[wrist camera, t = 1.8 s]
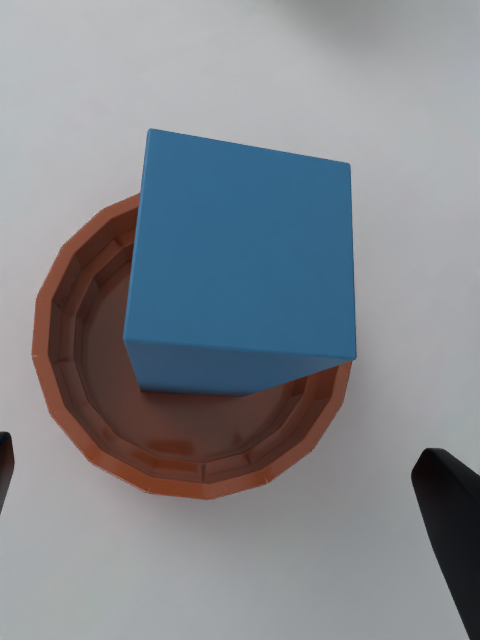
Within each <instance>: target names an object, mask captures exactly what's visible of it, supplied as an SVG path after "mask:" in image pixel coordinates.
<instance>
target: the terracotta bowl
mask: <svg viewBox="0 0 480 640" xmlns="http://www.w3.org/2000/svg"><path fill="white" fill-rule="evenodd" d="M139 199H140V193H139V194H137V195H134V196H132V197H130V198H127V199H125V200H122V201H120V202H118V203H115V204H113V205H111V206H108V207H106V208H104V209H103V210H101V211H99V212H98V213H97V214H96V215H95V216H94V217H93V218H92V219H91V220H90V221H89V222H88V223H86V224H85V225H84V226H83V227H82V228H81V229H80V230H79V231H78V232H77V233H76V234H75V235H73V236H72V237H71V238H70V239H69V240H68V241H67V242H66V243H65V244H64V245H63V246H62V247H61V249H60V251H59V253H58V255H57V257H56V259H55V261H54V263H53V265H52V267H51V269H50V271H49V273H48V275H47V277H46V279H45V281H44V283H43V285H42V287H41V289H40V291H39V293H38V295H37V298H36V306H35V318H34V330H33V342H32V354H31V355H32V356H33V357H32V360H33V363H34V366H35V369H36V372H37V376H38V379H39V382H40V385H41V388H42V391H43V394H44V398H45V401H46V404H47V407H48V410H49V413H50V414H51V417H52V418H53V419H54V420H55V422H56V423H57V424H58V425H59V426H60V428H61V429H62V430H63V431H64V432H65V434H66V435H67V436H68V437H69V438H70V440H71V441H72V442H73V443H74V444H75V446H76V447H77V448H78V449H79V450H80V452H81V453H82V454H83V455H84V456H85V457H86V459H87V460H88V461H89V462H90V463H92V465H94V466H96V467H98V468H100V469H102V470H104V471H105V472H107V473H109V474H111V475H113V476H115V477H117V478H119V479H121V480H122V481H124V482H126V483H128V484H130V485H132V486H134V487H136V488H137V489H139V490H141V491H143V492H145V493H147V492H148V493H149V494H156V495H165V496H175V497H184V498H193V499H203V500H209V499H210V500H212V499H215V498H219V497H223V496H226V495H230V494H233V493H237V492H241V491H244V490H248V489H252V488H255V487H259V486H263V485H266V483H269V482H271V481H272V480H274V479H275V478H276V477H278V476H279V475H280V474H282V473H283V472H284V471H286V470H287V469H288V468H290V467H291V466H292V465H294V464H295V463H296V462H298V461H299V460H300V459H302V458H303V457H305V456H306V455H307V454H309V453H310V452H311V451H312V449H314V448H315V446H316V445H317V443H318V442H319V440H320V439H321V437H322V435H323V434H324V432H325V431H326V429H327V428H328V426H329V425H330V423H331V421H332V420H333V418H334V417H335V415H336V414H337V412H338V411H339V409H340V407H341V406H342V403H343V400H344V395H345V391H346V387H347V382H348V378H349V373H350V369H351V365H352V361H350V362H347V363H344V364H341V365H338V366H335V367H332V368H329V369H326V370H323V371H319V372H316V373H313V374H310V375H307V376H304V377H301V378H298V379H295V380H292V381H289V382H286V383H283V384H280V385H277V386H274V387H271V388H268V389H265V390H262V391H259V392H256V393H253V394H250V395H247V396H244V397H230V396H213V395H196V394H179V393H162V392H146V391H140V388H139V385H138V382H137V379H136V376H135V373H134V370H133V367H132V364H131V361H130V358H129V355H128V352H127V349H126V346H125V343H124V340H123V332H124V324H125V316H126V307H127V299H128V291H129V282H130V274H131V266H132V257H133V249H134V241H135V232H136V224H137V216H138V208H139Z"/></svg>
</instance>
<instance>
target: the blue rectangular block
mask: <svg viewBox="0 0 480 640" xmlns="http://www.w3.org/2000/svg"><path fill="white" fill-rule="evenodd" d="M123 340H124V343H125V346H126V349H127V352H128V355H129V358H130V361H131V364H132V367H133V370H134V373H135V376H136V379H137V382H138V385H139V388H140V391H146V392H162V393H179V394H196V395H213V396H230V397H244V396H247V395H250V394H253V393H256V392H259V391H262V390H265V389H268V388H271V387H274V386H277V385H280V384H283V383H286V382H289V381H292V380H295V379H298V378H301V377H304V376H307V375H310V374H313V373H316V372H319V371H323V370H326V369H329V368H332V367H335V366H338V365H341V364H344V363H347V362H350V361H353V360H355V359H356V357H357V355H356V324H355V293H354V262H353V231H352V200H351V169H350V164H349V163H344V162H338V161H333V160H327V159H321V158H316V157H310V156H304V155H299V154H293V153H287V152H282V151H276V150H270V149H265V148H259V147H253V146H248V145H242V144H236V143H231V142H225V141H219V140H214V139H208V138H202V137H197V136H191V135H185V134H180V133H174V132H168V131H163V130H157V129H149V130H148V133H147V141H146V149H145V158H144V166H143V174H142V183H141V191H140V199H139V208H138V216H137V224H136V232H135V241H134V249H133V257H132V266H131V274H130V282H129V291H128V299H127V307H126V316H125V324H124V332H123Z"/></svg>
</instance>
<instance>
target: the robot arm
mask: <svg viewBox="0 0 480 640" xmlns="http://www.w3.org/2000/svg"><path fill="white" fill-rule="evenodd" d="M14 463H15V461H14V453H13V446H12V439H11V435H10V433H8V432H0V514H1V511H2V507H3V504H4V501H5V497H6V494H7V491H8V488H9V484H10V481H11V478H12V474H13V471H14ZM411 480H412V484H413V487H414V491H415V494H416V497H417V500H418V504H419V507H420V510H421V513H422V517H423V520H424V523H425V527H426V530H427V533H428V536H429V539H430V542H431V545H432V548H433V551H434V553H435V556H436V558H437V561H438V563H439V566H440V568H441V571H442V573H443V575H444V578H445V580H446V583H447V585H448V588H449V590H450V593H451V595H452V597H453V600H454V602H455V605H456V607H457V610H458V612H459V615H460V617H461V619H462V622H463V624H464V627H465V629H466V632H467V634H468V637H469V639H470V640H480V476H479V475H478V474H476V473H475V472H474V471H473V470H471V469H470V468H469V467H467V466H466V465H465V464H463V463H462V462H461V461H459V460H458V459H457V458H455V457H454V456H453V455H451V454H450V453H449V452H447V451H446V450H444V449H440V448H426V449H425V450H424V451H423V452H422V454H421V455H420V457H419V459H418V461H417V463H416V464H415V466H414V468H413V470H412V473H411Z"/></svg>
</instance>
